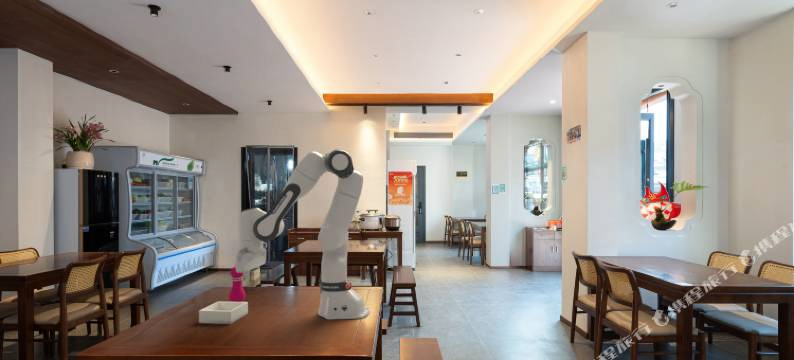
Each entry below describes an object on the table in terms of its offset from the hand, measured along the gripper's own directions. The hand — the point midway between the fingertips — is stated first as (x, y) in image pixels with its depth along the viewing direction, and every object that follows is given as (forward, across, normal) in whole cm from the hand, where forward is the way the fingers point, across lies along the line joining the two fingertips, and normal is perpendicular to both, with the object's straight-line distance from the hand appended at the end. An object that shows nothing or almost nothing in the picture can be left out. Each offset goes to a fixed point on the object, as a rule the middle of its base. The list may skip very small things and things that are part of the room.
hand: (251, 279), depth 171 cm
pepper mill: (+16, +18, +17) cm, 30 cm away
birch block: (+2, 0, 0) cm, 2 cm away
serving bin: (+16, 0, +13) cm, 21 cm away
